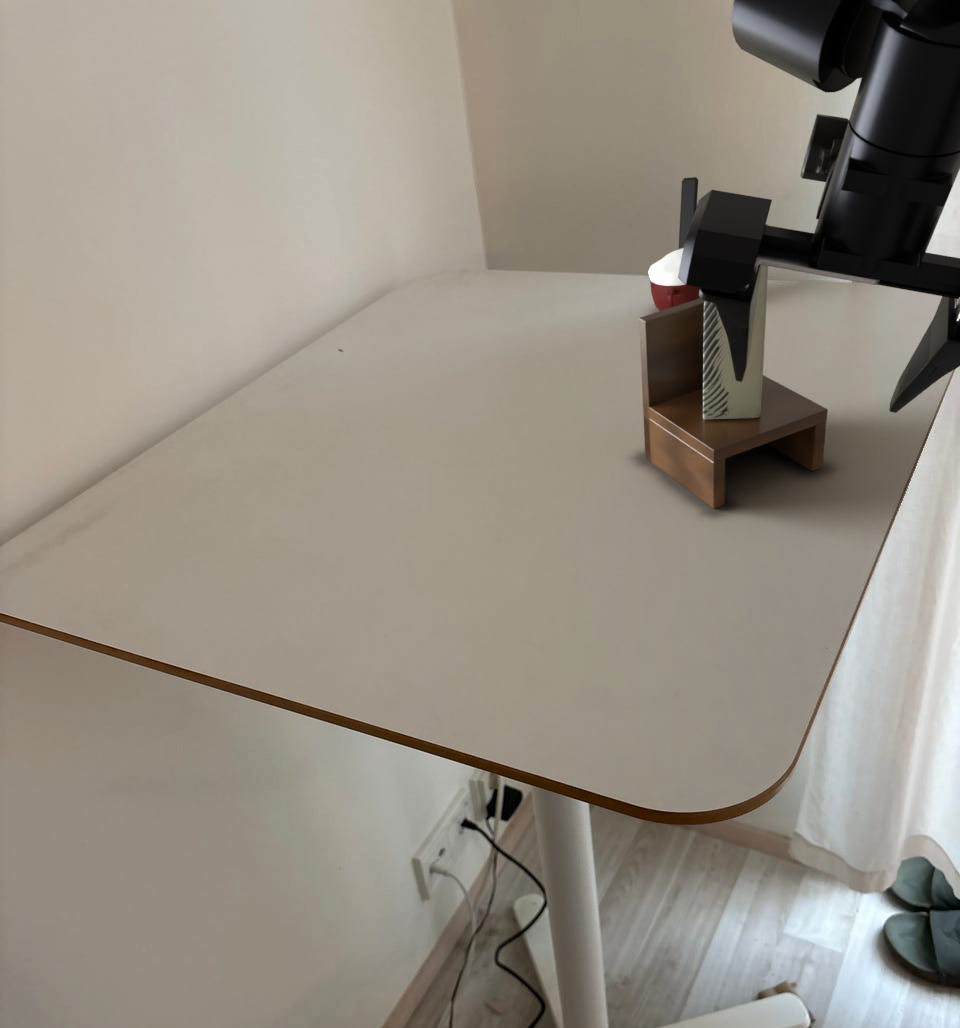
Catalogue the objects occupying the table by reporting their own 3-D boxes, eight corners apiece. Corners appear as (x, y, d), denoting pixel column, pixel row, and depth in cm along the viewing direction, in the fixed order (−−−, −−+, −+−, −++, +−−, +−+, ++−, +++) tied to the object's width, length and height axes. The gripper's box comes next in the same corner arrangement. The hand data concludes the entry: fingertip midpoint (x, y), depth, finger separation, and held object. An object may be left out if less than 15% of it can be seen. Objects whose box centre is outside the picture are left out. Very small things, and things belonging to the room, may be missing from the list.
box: (705, 392, 76) (705, 225, 68) (762, 390, 75) (769, 220, 67) (701, 423, 72) (701, 250, 64) (762, 421, 71) (769, 245, 63)
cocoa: (680, 330, 99) (678, 209, 91) (632, 320, 103) (626, 203, 95) (733, 298, 103) (735, 179, 96) (685, 289, 107) (683, 175, 100)
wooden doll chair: (822, 467, 74) (835, 317, 67) (713, 509, 72) (714, 358, 65) (746, 421, 82) (750, 281, 74) (644, 457, 80) (638, 317, 72)
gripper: (1104, 86, 49) (975, 346, 61) (739, 36, 52) (687, 292, 64) (1123, 192, 42) (974, 458, 55) (705, 127, 46) (654, 392, 58)
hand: (815, 392), depth 58 cm, fingers open, 9 cm apart
